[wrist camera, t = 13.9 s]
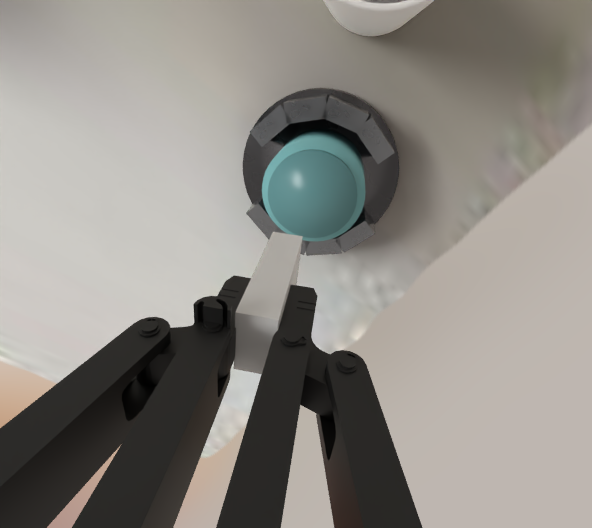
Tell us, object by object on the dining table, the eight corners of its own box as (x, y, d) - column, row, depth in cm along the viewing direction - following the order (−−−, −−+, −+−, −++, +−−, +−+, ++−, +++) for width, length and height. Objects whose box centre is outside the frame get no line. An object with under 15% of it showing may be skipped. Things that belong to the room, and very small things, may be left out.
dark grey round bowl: (249, 77, 30) (234, 79, 27) (416, 99, 29) (424, 105, 26) (243, 228, 37) (231, 245, 34) (378, 251, 36) (380, 270, 33)
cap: (275, 126, 31) (259, 139, 26) (369, 131, 30) (372, 145, 25) (275, 213, 35) (261, 239, 29) (358, 220, 34) (359, 249, 29)
